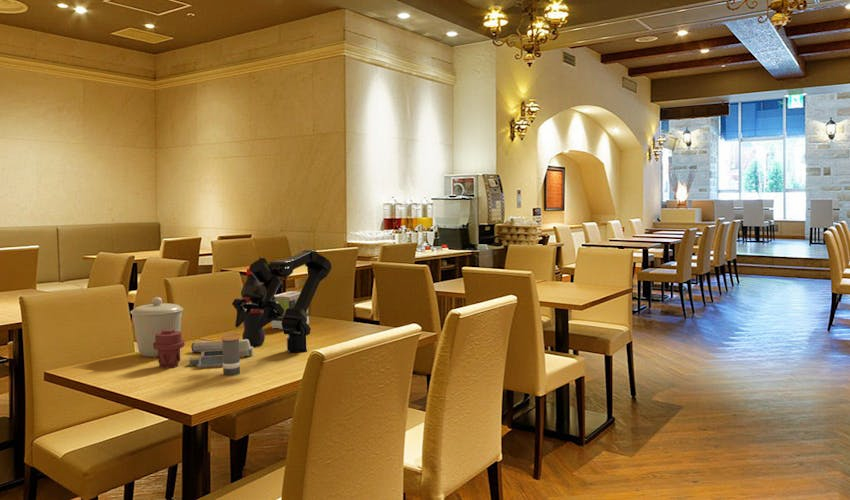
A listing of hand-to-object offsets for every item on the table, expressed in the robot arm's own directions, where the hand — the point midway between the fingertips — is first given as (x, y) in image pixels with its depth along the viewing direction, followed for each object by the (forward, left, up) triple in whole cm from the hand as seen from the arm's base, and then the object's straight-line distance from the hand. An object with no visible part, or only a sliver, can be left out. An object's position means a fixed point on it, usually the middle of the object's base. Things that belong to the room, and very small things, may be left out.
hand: (246, 327), depth 222 cm
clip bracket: (+12, -10, -13) cm, 21 cm away
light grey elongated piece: (+8, -24, -14) cm, 29 cm away
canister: (+30, -31, -14) cm, 46 cm away
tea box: (-21, -70, -14) cm, 74 cm away
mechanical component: (+25, -11, -14) cm, 31 cm away
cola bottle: (-4, -36, -14) cm, 39 cm away
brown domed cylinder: (+5, +6, -13) cm, 16 cm away
